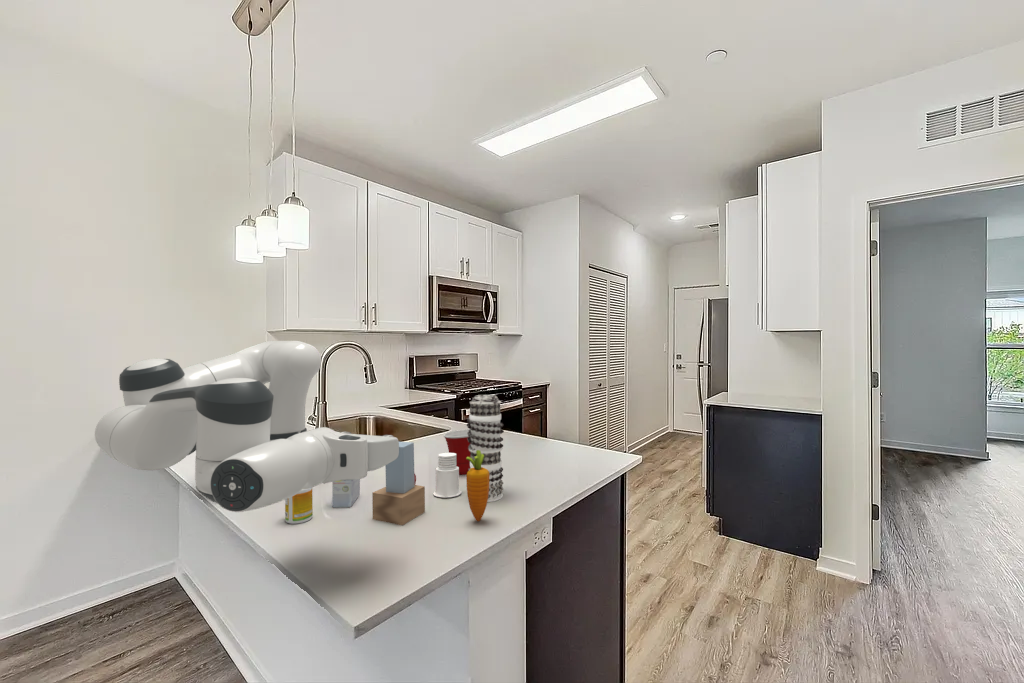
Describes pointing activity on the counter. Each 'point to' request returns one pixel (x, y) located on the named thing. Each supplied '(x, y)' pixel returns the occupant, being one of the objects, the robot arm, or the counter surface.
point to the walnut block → (398, 505)
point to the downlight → (447, 476)
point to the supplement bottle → (299, 507)
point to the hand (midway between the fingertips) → (368, 437)
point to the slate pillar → (401, 470)
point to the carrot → (477, 486)
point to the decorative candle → (487, 439)
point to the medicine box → (345, 492)
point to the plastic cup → (459, 448)
